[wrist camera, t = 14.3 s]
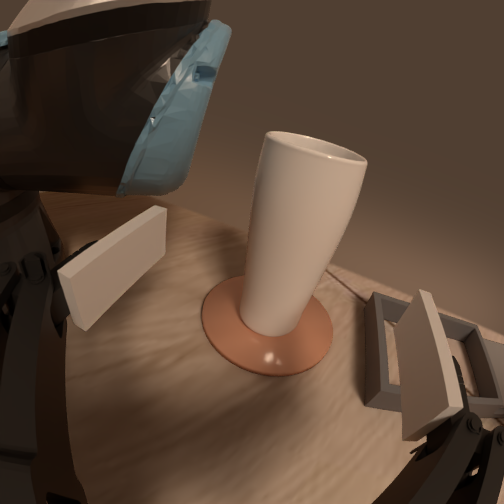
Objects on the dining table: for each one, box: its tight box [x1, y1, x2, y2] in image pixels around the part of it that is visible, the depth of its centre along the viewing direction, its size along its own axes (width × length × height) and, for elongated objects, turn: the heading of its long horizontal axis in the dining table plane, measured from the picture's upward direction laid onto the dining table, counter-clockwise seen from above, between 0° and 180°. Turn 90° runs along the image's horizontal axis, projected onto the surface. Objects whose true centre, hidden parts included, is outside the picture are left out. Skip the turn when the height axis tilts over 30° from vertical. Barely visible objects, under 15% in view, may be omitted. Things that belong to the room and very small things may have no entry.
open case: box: [364, 292, 504, 418], centre depth 19 cm, size 33×13×2 cm, turn 73°
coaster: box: [202, 275, 333, 376], centre depth 24 cm, size 12×12×1 cm
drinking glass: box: [239, 131, 367, 337], centre depth 20 cm, size 7×7×15 cm
